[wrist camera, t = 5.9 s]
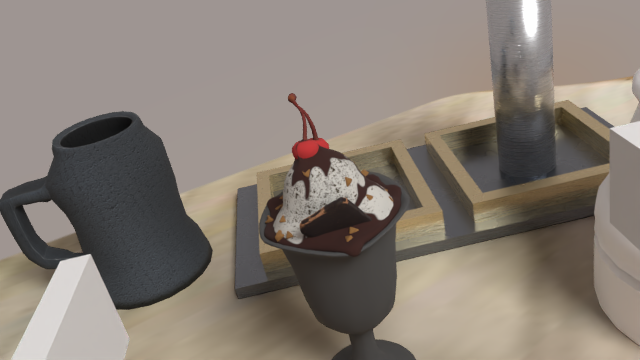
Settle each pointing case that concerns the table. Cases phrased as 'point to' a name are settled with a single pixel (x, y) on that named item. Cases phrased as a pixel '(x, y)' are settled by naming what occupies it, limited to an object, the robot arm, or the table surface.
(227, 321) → the table surface
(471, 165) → the olive compartment tray
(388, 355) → the sundae
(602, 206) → the honey pot
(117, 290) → the mug
